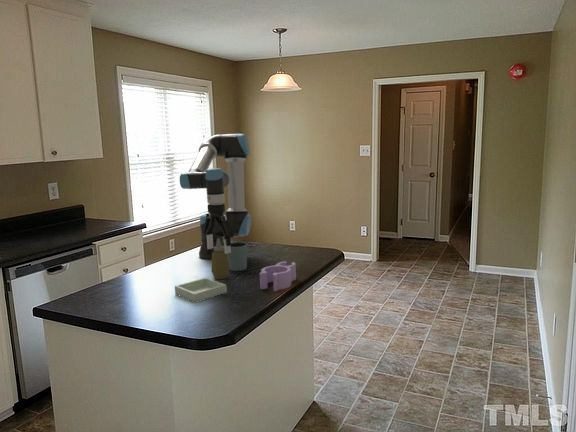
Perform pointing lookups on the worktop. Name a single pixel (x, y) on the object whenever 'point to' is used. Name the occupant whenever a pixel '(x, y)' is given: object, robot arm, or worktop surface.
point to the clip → (278, 275)
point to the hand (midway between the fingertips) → (218, 250)
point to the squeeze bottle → (219, 262)
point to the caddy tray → (200, 289)
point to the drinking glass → (237, 256)
